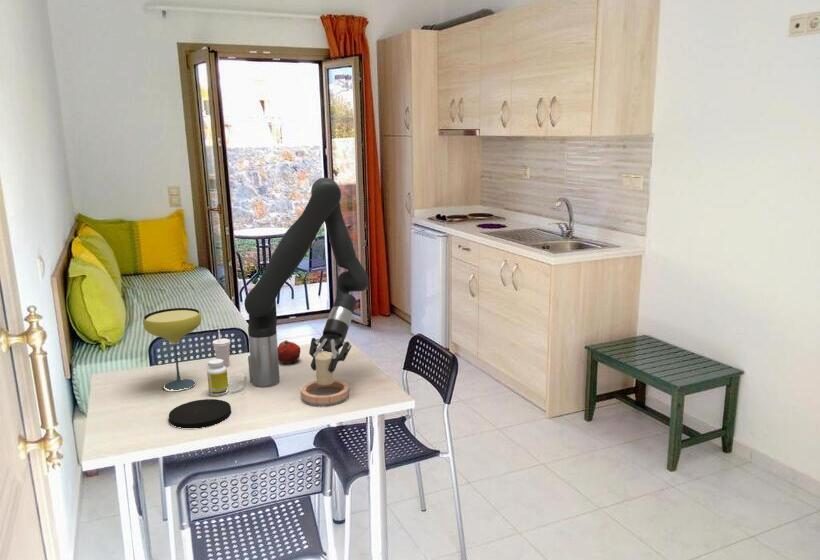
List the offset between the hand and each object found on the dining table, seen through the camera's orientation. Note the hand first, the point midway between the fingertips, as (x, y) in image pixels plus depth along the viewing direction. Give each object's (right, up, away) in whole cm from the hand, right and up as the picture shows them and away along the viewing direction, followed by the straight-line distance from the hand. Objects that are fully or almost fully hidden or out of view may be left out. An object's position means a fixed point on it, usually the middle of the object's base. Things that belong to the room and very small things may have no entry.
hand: (321, 370), depth 202 cm
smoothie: (-41, -3, +34) cm, 53 cm away
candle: (+1, -4, +3) cm, 5 cm away
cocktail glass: (-50, -8, +16) cm, 53 cm away
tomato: (-17, -2, +37) cm, 41 cm away
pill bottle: (-35, -9, +9) cm, 37 cm away
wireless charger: (-35, -13, -9) cm, 39 cm away
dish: (+1, -9, +4) cm, 10 cm away
